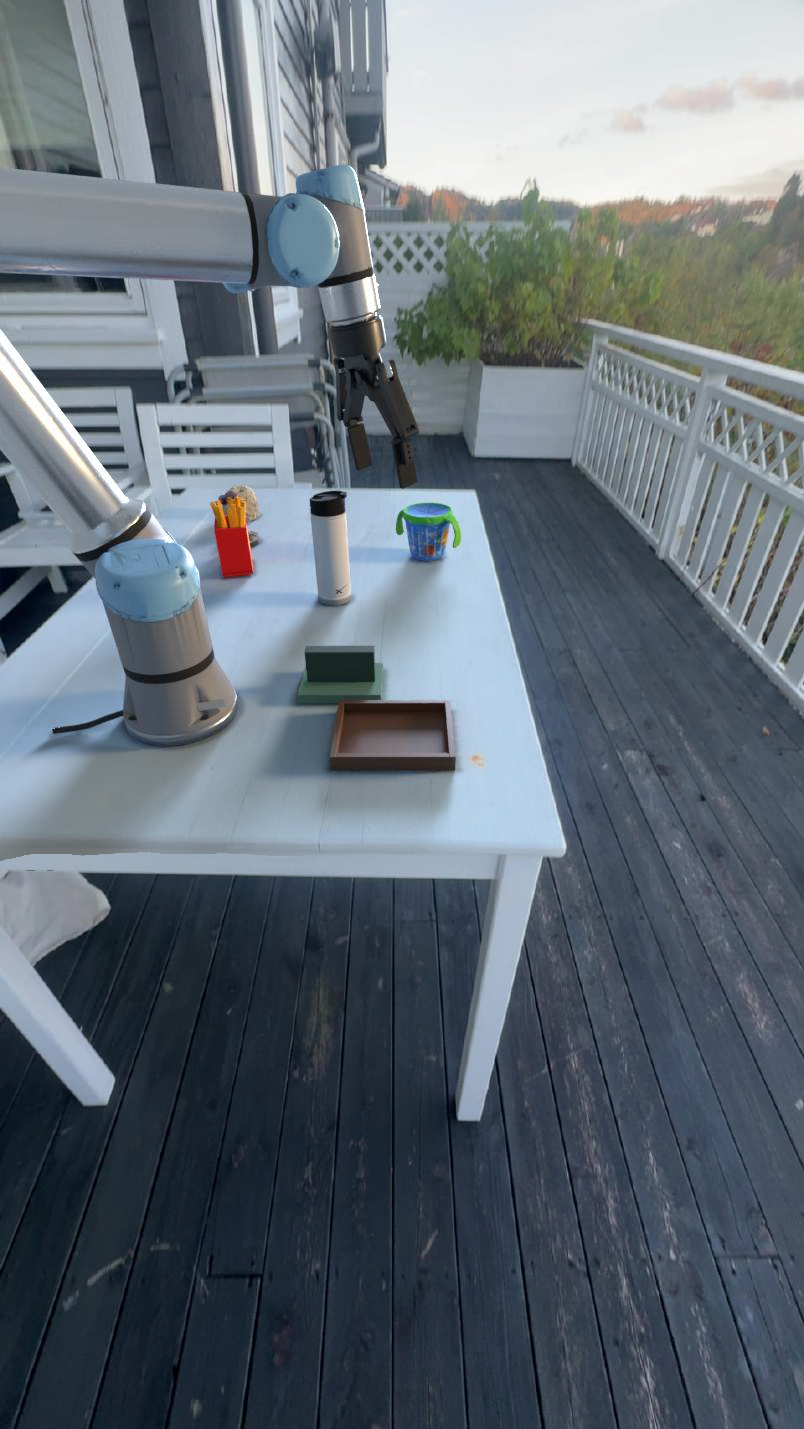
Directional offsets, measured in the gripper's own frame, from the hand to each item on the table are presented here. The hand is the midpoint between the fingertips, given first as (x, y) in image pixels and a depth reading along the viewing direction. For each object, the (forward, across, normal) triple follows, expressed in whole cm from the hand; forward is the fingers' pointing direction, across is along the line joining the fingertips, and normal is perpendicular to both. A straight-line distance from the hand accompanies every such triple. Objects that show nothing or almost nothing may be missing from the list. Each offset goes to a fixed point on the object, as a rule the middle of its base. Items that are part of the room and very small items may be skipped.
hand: (385, 476), depth 97 cm
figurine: (+22, +54, +13) cm, 59 cm away
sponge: (+23, +72, +6) cm, 76 cm away
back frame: (+22, -30, +22) cm, 43 cm away
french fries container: (+21, +38, +19) cm, 48 cm away
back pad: (+22, -14, +22) cm, 34 cm away
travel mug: (+24, +14, +8) cm, 29 cm away
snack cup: (+29, +23, -18) cm, 41 cm away
